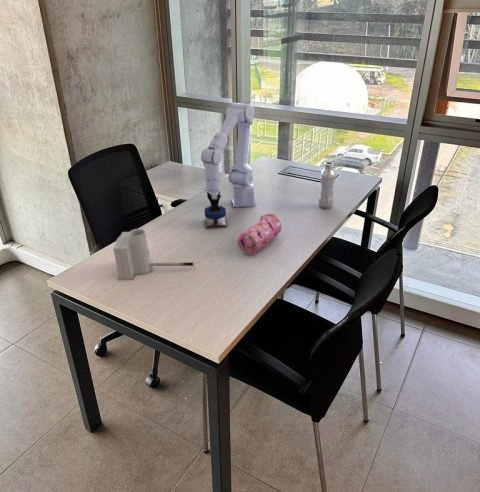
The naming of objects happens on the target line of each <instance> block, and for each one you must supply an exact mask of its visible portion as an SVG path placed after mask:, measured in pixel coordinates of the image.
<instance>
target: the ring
mask: <svg viewBox="0 0 480 492" xmlns="http://www.w3.org/2000/svg"><path fill="white" fill-rule="evenodd" d="M203 210H204V211H203V212H204V217H205V219H206V218H208V219H213V220H214V219H221V218H224V217H226V216H227V210H226V207H224V206H222V205H218V209H217V211H218V212H213V210H212V207H211V205H209V206H206V207H205V208H204V209H203Z"/></svg>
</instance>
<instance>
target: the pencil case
mask: <svg viewBox="0 0 480 492" xmlns="http://www.w3.org/2000/svg"><path fill="white" fill-rule="evenodd" d="M281 231H282V222H281V220H280V218H279V217H278V215H275V214H274V213H265V214H263V215H260V218H259V220H258V221H257V222H255V223H254V224H253V225H251V226H250V227H249V228H246V229H245V230H244V231H242V232H241V233H239V236H238V238H237V246H238V248H239V249H240V250H241V251H242V252H243V253H244V254H247V255H251V256H252V255H256V254H258V252H259V251H260V250H262V249H263V248H266V246H268V244H270V243H271V242H272V241H273V240H275V238H276V237H277V235H278V234H279V233H281Z"/></svg>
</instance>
